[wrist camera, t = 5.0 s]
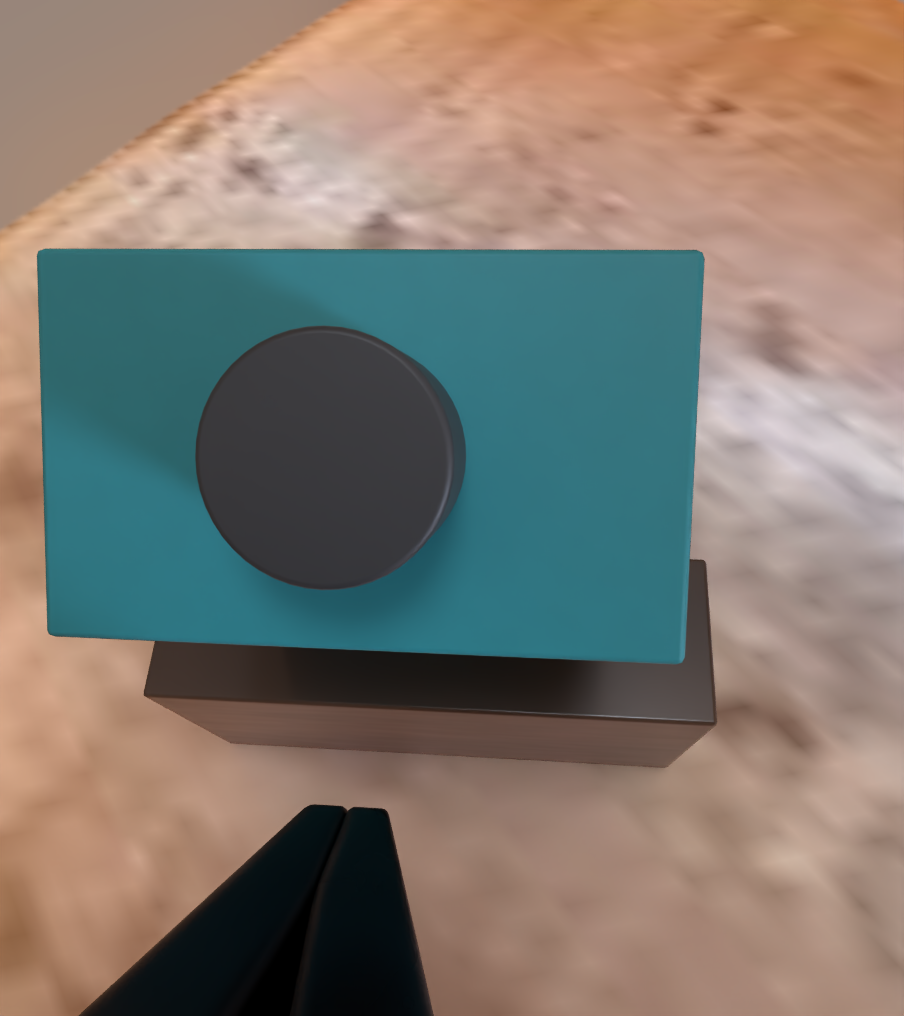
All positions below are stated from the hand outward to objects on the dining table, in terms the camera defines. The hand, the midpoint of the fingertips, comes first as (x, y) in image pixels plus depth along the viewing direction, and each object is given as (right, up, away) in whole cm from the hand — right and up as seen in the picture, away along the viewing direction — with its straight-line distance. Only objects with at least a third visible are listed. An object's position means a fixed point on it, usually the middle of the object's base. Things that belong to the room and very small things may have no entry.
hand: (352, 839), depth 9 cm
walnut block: (+1, -1, +11) cm, 11 cm away
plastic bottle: (+1, +2, +12) cm, 12 cm away
